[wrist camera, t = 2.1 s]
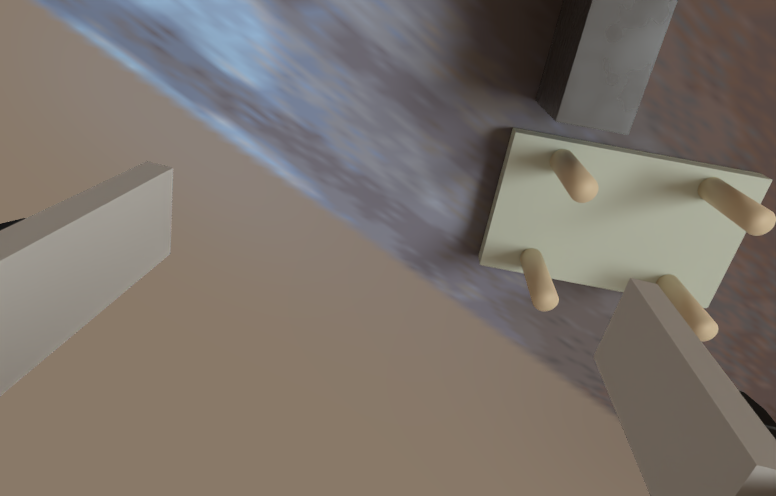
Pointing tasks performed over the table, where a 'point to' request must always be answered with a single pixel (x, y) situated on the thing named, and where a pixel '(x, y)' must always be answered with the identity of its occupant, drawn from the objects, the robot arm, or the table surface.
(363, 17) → the table surface
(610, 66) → the long grey bar
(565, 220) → the peg rack
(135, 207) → the robot arm
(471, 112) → the table surface
